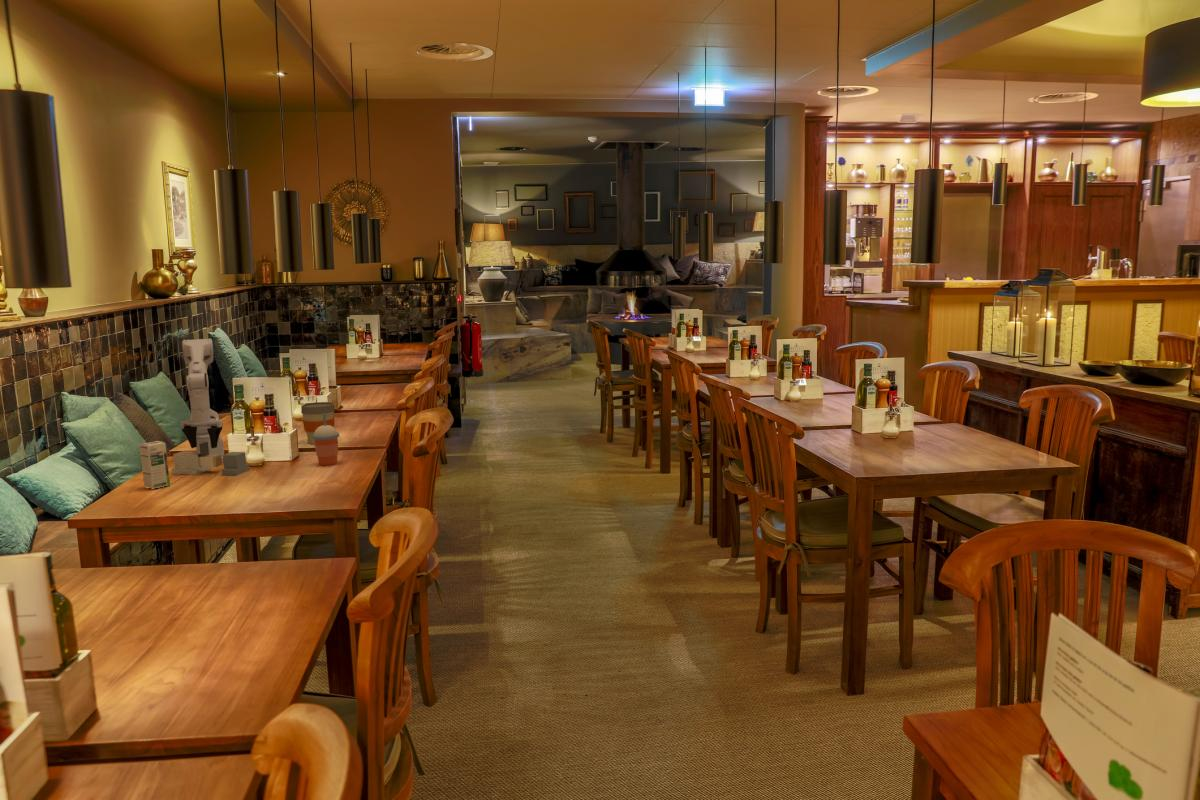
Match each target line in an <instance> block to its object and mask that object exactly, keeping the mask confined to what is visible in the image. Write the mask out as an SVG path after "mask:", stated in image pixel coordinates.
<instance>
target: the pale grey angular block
mask: <svg viewBox="0 0 1200 800" xmlns="http://www.w3.org/2000/svg"><path fill="white" fill-rule="evenodd" d="M199 446H200V456H199V466H200V467H211V468H218V467H219V466H223V459H222V457H221V455H209V448H208V442H203V443H200V444H199Z"/></svg>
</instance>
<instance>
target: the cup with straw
mask: <svg viewBox="0 0 1200 800" xmlns="http://www.w3.org/2000/svg"><path fill="white" fill-rule="evenodd" d="M323 422H324V425H322V426H320V427H318V428H317V429H316V430H315V432H314V434H313V435H312V438H313V439H314V440H315V445H314V448H315V453H316V457H317V461H318V465H319V466H325V467H326V466H333V465H334V466H335V465H337V463H338V454H339V441H338V440H339V438H340V433H339V431H337V429H336V428H335V426H334V427H332V426H330V425H326V413H323Z"/></svg>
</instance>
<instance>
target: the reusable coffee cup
mask: <svg viewBox="0 0 1200 800" xmlns="http://www.w3.org/2000/svg"><path fill="white" fill-rule="evenodd" d="M300 409H301V411H300V413H301V414H302V425H303V428H304V432H305V433H306V437H307V441H308V442H307V444H308V445H313V444H315V440H314V439H313V438H312V435H313V434H314V432H315V430H316V429H317V428H318V427H320V426H322V425H324V422H323V413H326V425H330V426H332V427H334V428H335V421H336V420H335V409H336V408H335V403H333V402H329V401H328V402H327V401H322V402H321V401H320V402H311V403H310V402H309V403H305V404H302V405H301V407H300Z"/></svg>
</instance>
